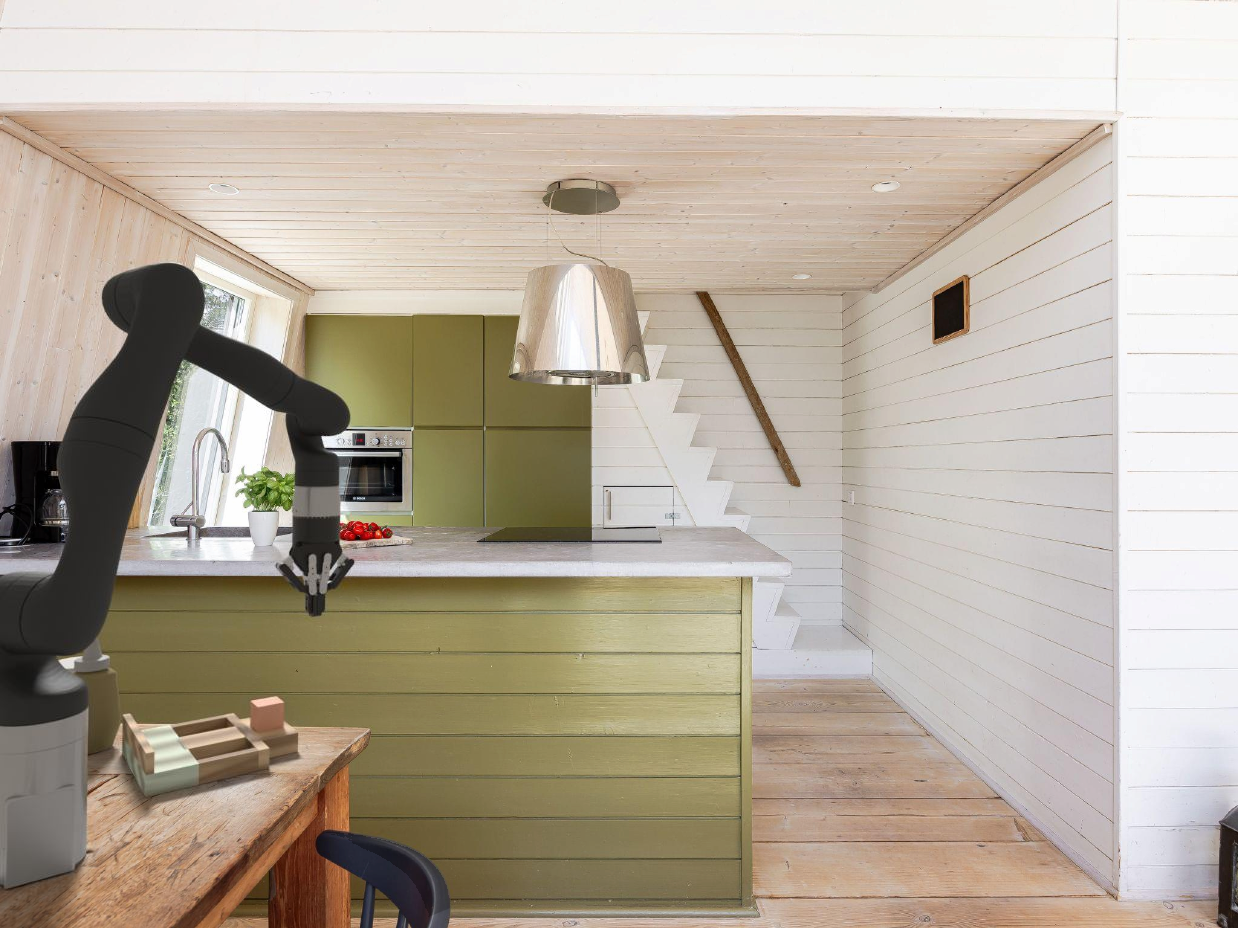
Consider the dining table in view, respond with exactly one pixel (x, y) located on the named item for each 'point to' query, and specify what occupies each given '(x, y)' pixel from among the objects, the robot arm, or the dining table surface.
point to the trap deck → (200, 751)
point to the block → (266, 714)
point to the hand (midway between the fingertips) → (315, 615)
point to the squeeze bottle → (100, 697)
